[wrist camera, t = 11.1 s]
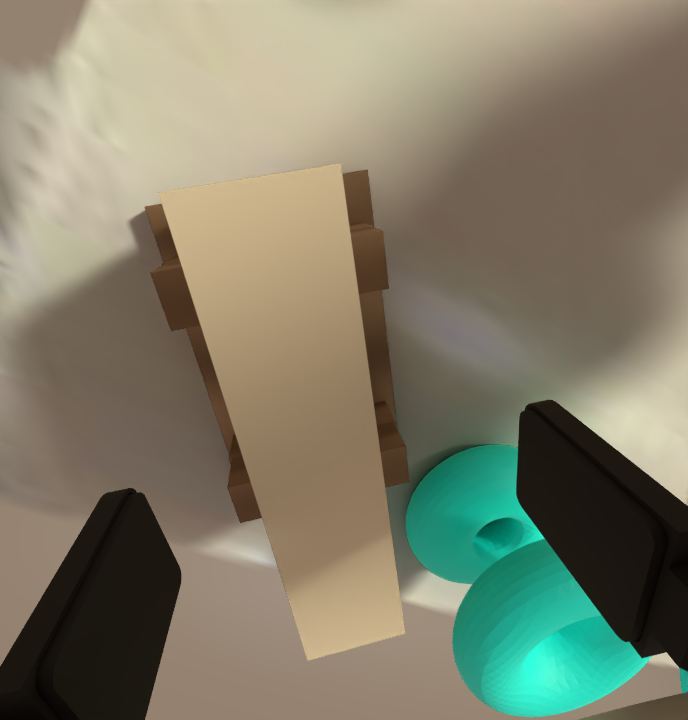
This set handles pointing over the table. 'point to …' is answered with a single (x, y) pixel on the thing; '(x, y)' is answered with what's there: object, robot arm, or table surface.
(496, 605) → the donuts
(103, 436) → the table surface
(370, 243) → the rack
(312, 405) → the cream rectangular block
